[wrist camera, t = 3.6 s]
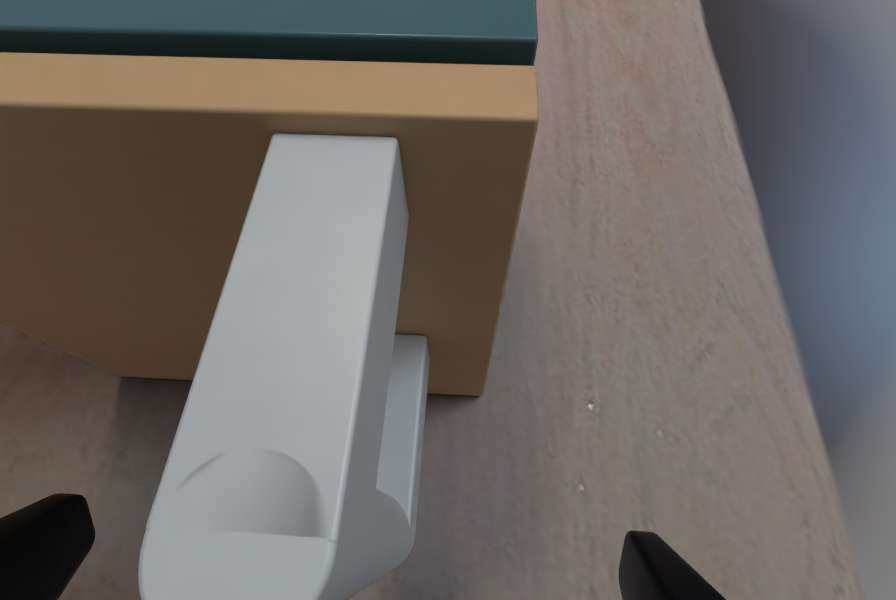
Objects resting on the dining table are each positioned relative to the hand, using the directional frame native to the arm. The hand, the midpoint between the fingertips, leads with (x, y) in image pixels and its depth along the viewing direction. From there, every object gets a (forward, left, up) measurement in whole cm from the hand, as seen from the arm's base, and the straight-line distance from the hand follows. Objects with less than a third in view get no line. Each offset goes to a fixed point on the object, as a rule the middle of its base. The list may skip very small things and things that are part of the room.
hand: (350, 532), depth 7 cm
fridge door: (+2, +4, -8) cm, 9 cm away
